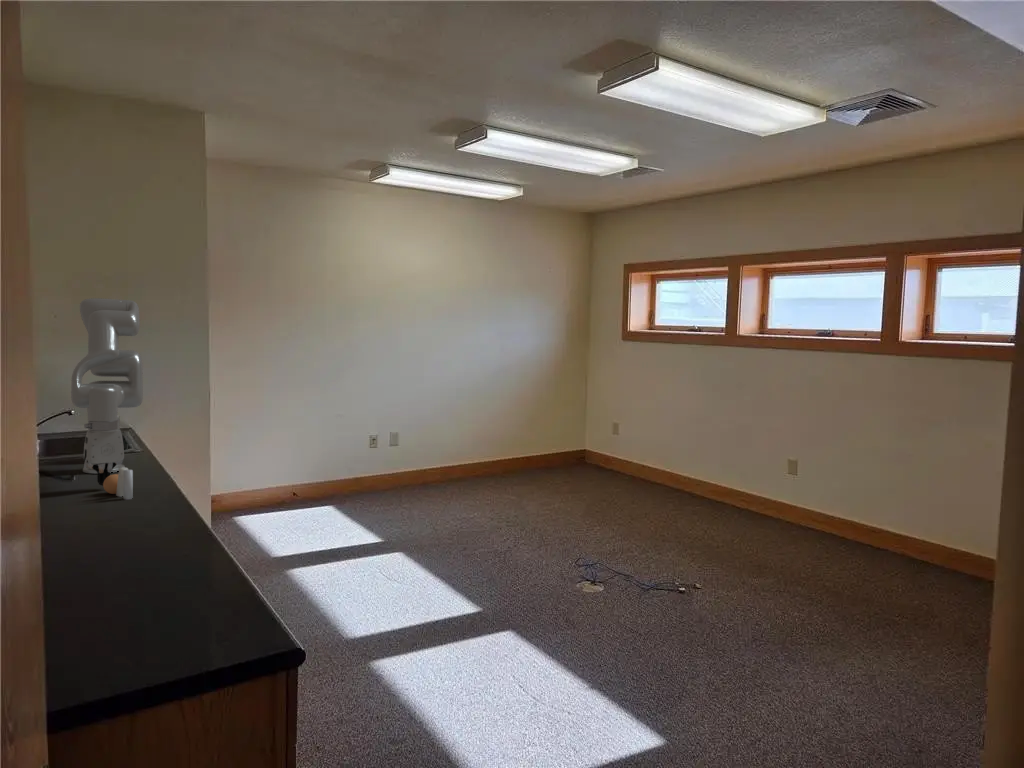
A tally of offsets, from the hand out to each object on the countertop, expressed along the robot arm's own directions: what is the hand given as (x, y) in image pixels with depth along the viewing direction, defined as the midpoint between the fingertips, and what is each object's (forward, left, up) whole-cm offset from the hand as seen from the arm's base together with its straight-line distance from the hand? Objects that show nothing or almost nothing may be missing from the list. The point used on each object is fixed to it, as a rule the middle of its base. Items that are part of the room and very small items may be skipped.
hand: (103, 484), depth 207 cm
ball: (+7, +2, +1) cm, 8 cm away
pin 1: (+11, +3, -1) cm, 11 cm away
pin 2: (+15, +4, -2) cm, 16 cm away
